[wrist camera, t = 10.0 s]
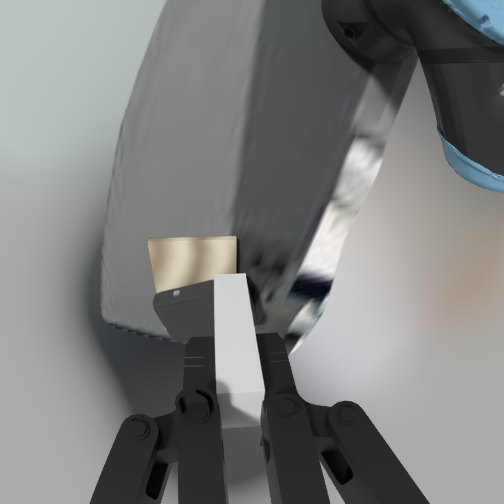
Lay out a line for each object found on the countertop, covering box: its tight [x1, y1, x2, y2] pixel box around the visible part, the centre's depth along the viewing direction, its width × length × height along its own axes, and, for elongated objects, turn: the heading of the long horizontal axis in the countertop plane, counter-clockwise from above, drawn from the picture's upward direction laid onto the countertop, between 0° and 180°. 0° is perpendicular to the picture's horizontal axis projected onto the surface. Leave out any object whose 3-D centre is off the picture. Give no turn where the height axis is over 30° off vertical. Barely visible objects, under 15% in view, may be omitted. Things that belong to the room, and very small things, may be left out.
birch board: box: [148, 236, 236, 330], centre depth 45 cm, size 13×18×1 cm
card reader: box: [153, 279, 257, 342], centre depth 45 cm, size 9×4×15 cm
